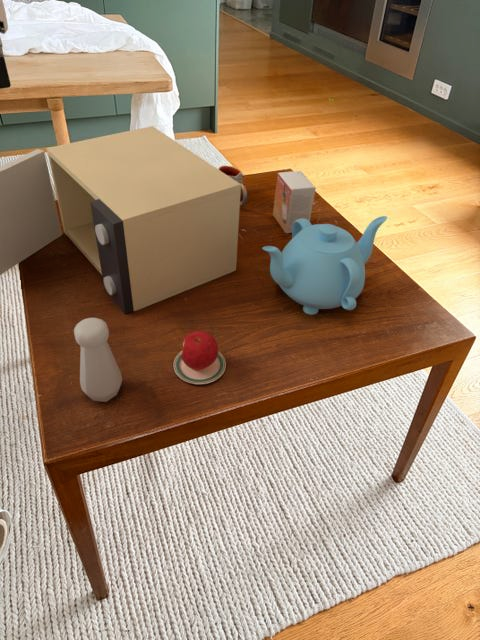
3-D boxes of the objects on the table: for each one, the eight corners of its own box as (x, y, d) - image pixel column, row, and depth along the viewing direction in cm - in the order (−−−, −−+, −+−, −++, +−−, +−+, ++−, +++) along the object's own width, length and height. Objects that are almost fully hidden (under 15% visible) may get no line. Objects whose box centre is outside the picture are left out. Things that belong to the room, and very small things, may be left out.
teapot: (370, 278, 96) (388, 214, 87) (345, 341, 82) (363, 273, 73) (291, 256, 100) (300, 193, 91) (255, 312, 87) (261, 244, 77)
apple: (191, 394, 72) (190, 363, 68) (164, 361, 77) (161, 330, 73) (235, 372, 76) (237, 341, 72) (207, 341, 81) (207, 311, 76)
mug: (208, 192, 119) (209, 166, 114) (234, 188, 121) (236, 162, 117) (229, 216, 111) (230, 189, 106) (256, 211, 113) (258, 184, 109)
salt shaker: (80, 381, 73) (64, 315, 64) (119, 372, 75) (108, 306, 66) (85, 411, 69) (69, 345, 60) (127, 401, 71) (116, 335, 62)
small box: (272, 215, 112) (276, 171, 105) (295, 213, 114) (301, 169, 107) (285, 234, 106) (290, 189, 99) (308, 231, 108) (316, 186, 101)
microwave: (121, 316, 84) (107, 224, 72) (53, 236, 101) (33, 150, 89) (236, 270, 96) (241, 184, 84) (157, 205, 113) (152, 125, 101)
